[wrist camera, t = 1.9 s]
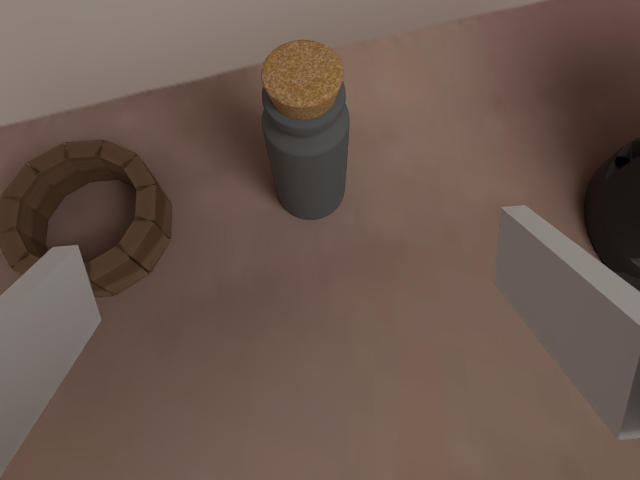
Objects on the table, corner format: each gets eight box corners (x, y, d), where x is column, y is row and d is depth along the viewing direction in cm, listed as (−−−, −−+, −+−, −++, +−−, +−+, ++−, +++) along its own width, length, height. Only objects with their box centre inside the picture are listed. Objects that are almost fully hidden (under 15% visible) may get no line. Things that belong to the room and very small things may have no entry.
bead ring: (173, 160, 42) (158, 135, 39) (169, 290, 38) (152, 277, 34) (37, 171, 42) (9, 147, 38) (19, 303, 38) (-15, 291, 34)
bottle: (358, 183, 41) (373, 63, 27) (316, 233, 40) (310, 133, 26) (305, 148, 42) (294, 15, 28) (263, 195, 41) (229, 79, 27)
